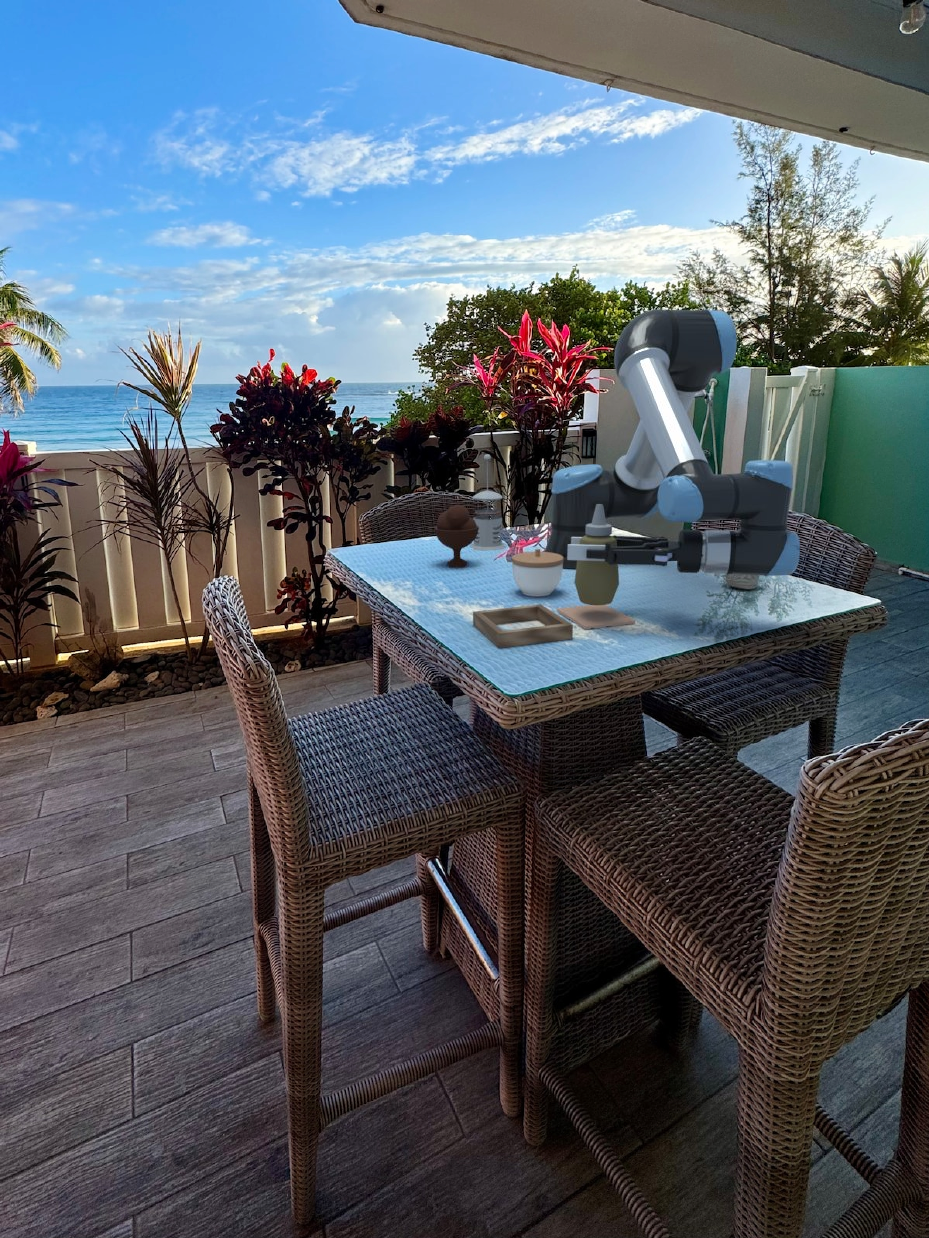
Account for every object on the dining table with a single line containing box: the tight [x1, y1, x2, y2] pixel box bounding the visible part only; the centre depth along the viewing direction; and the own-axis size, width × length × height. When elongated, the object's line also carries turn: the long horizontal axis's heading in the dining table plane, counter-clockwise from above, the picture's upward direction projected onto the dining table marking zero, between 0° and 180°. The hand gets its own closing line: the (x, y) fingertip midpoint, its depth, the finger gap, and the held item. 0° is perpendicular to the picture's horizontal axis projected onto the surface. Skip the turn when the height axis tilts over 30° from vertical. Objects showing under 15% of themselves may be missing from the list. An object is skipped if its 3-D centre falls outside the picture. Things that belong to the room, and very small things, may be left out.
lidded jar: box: [511, 548, 564, 597], centre depth 149 cm, size 11×11×9 cm
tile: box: [556, 604, 636, 630], centre depth 133 cm, size 10×12×1 cm
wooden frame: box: [472, 603, 574, 649], centre depth 126 cm, size 13×13×2 cm
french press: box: [470, 453, 506, 551], centre depth 195 cm, size 10×12×25 cm
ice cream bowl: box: [434, 504, 479, 569], centre depth 175 cm, size 11×11×15 cm
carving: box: [724, 574, 761, 590], centre depth 150 cm, size 6×8×12 cm
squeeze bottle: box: [574, 504, 620, 606], centre depth 130 cm, size 8×8×18 cm
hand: (569, 548), depth 131 cm, fingers closed on squeeze bottle, 6 cm apart
